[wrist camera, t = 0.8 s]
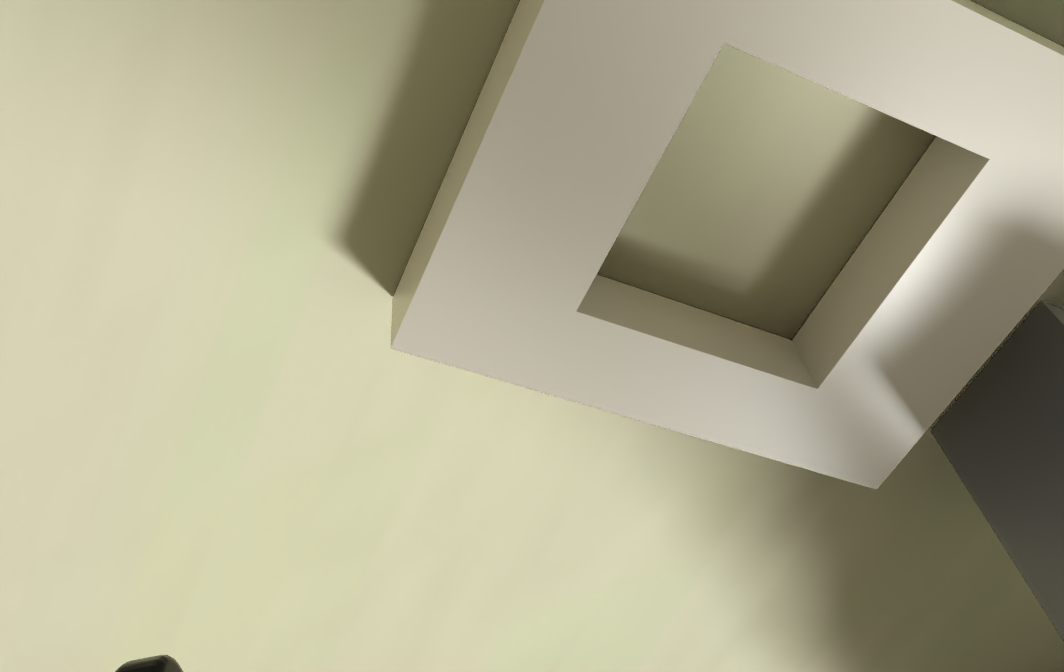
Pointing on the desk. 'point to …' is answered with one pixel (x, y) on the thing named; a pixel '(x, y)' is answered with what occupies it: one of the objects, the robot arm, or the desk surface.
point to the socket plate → (708, 339)
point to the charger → (1018, 451)
